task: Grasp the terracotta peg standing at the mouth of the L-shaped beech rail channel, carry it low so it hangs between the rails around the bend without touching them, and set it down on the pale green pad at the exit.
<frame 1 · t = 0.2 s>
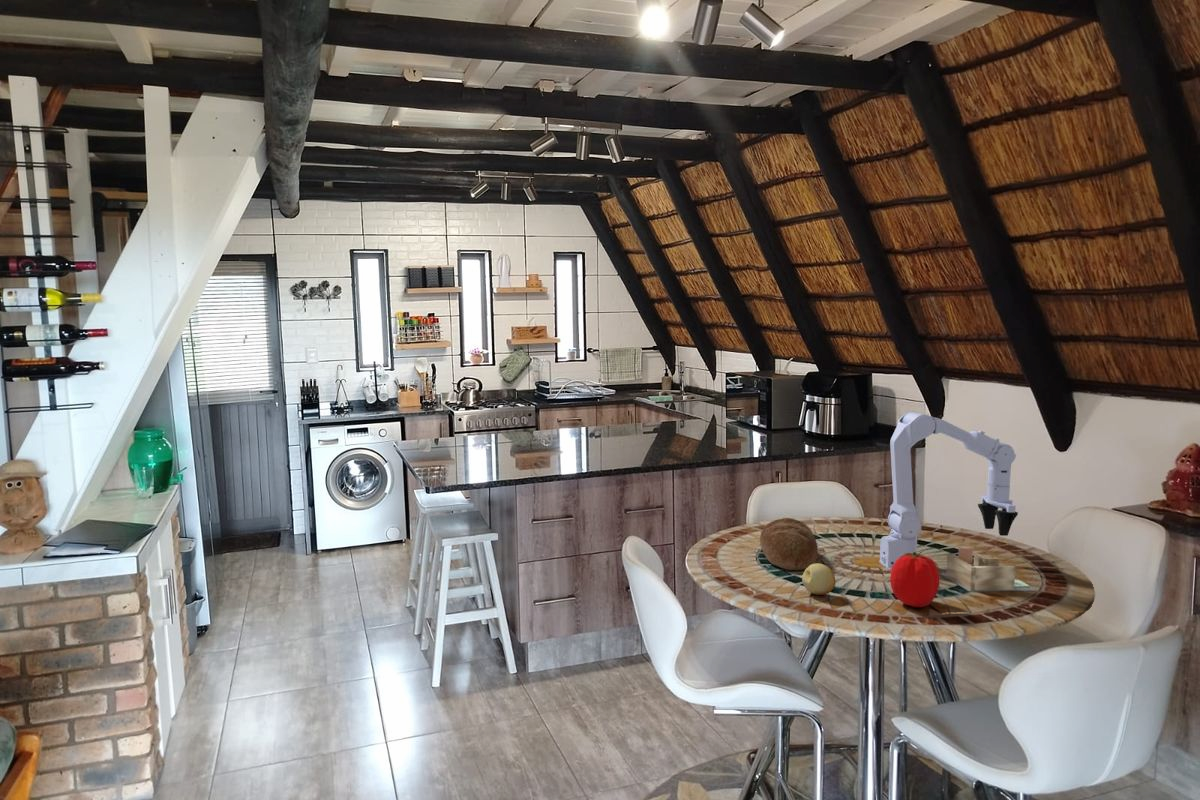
hand: (996, 532, 234), 10 cm above the table, fingers open, 7 cm apart
rails: (986, 581, 219), resting on board
bread: (787, 558, 244), on the table
pad: (1014, 584, 217), resting on board
fruit: (818, 595, 210), on the table
tomato: (914, 605, 202), on the table
peg: (964, 576, 223), resting on board
board: (986, 583, 219), on the table
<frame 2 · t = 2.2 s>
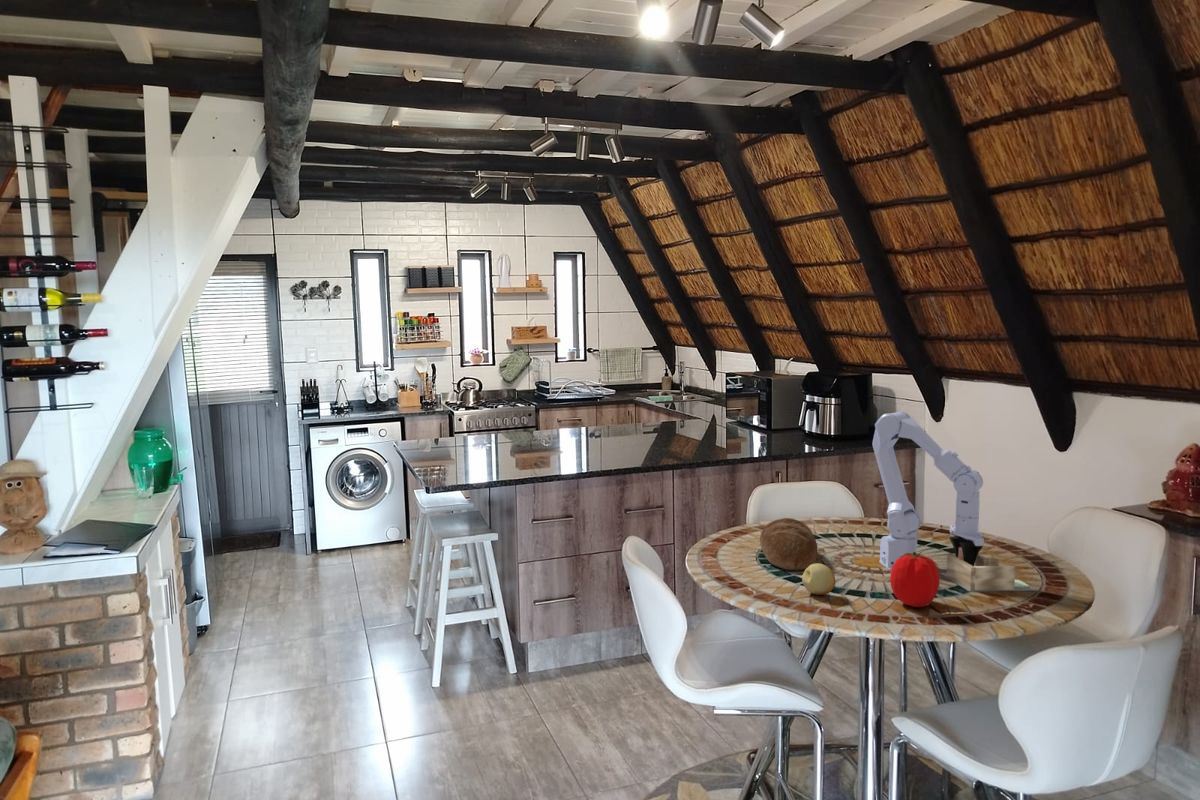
hand: (965, 565, 223), 4 cm above the table, fingers closed on peg, 3 cm apart
peg: (964, 576, 223), point 1 cm above the table, touching board, gripper
everything else where it was.
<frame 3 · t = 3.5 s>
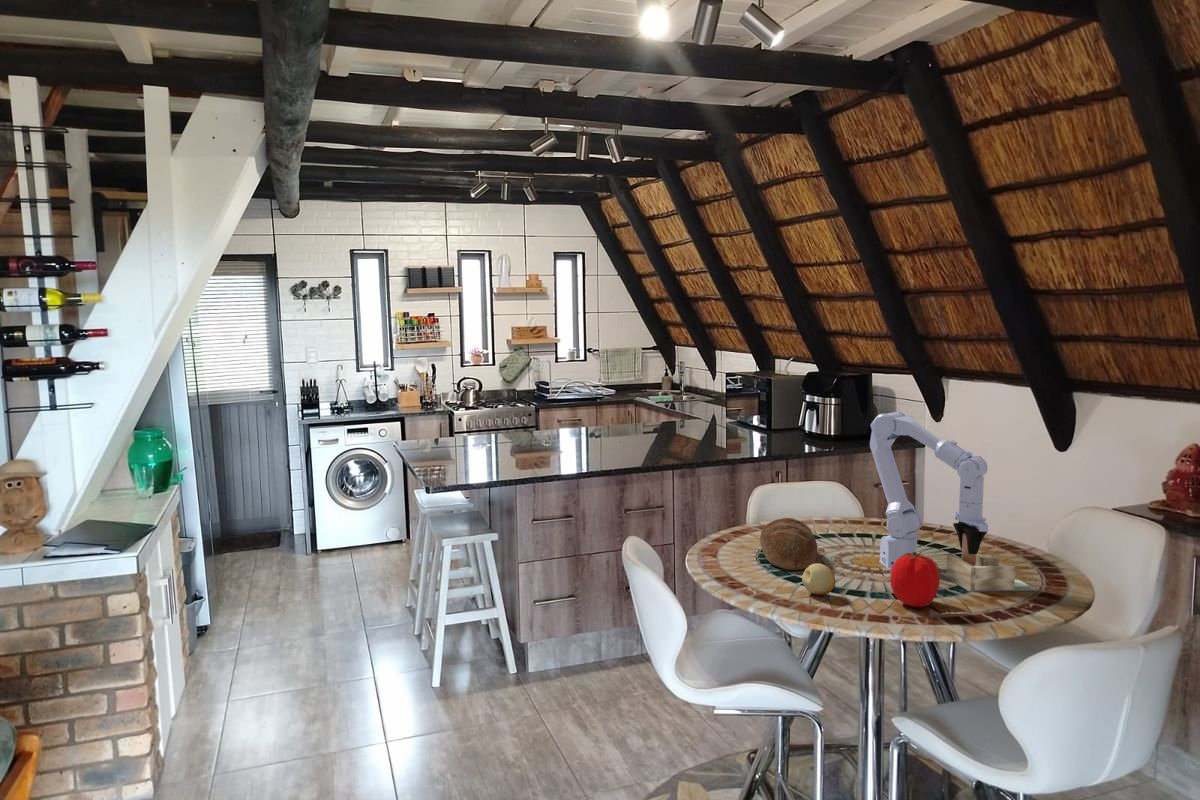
hand: (969, 551, 221), 8 cm above the table, fingers closed on peg, 3 cm apart
peg: (968, 563, 221), point 5 cm above the table, touching gripper
everything else where it was.
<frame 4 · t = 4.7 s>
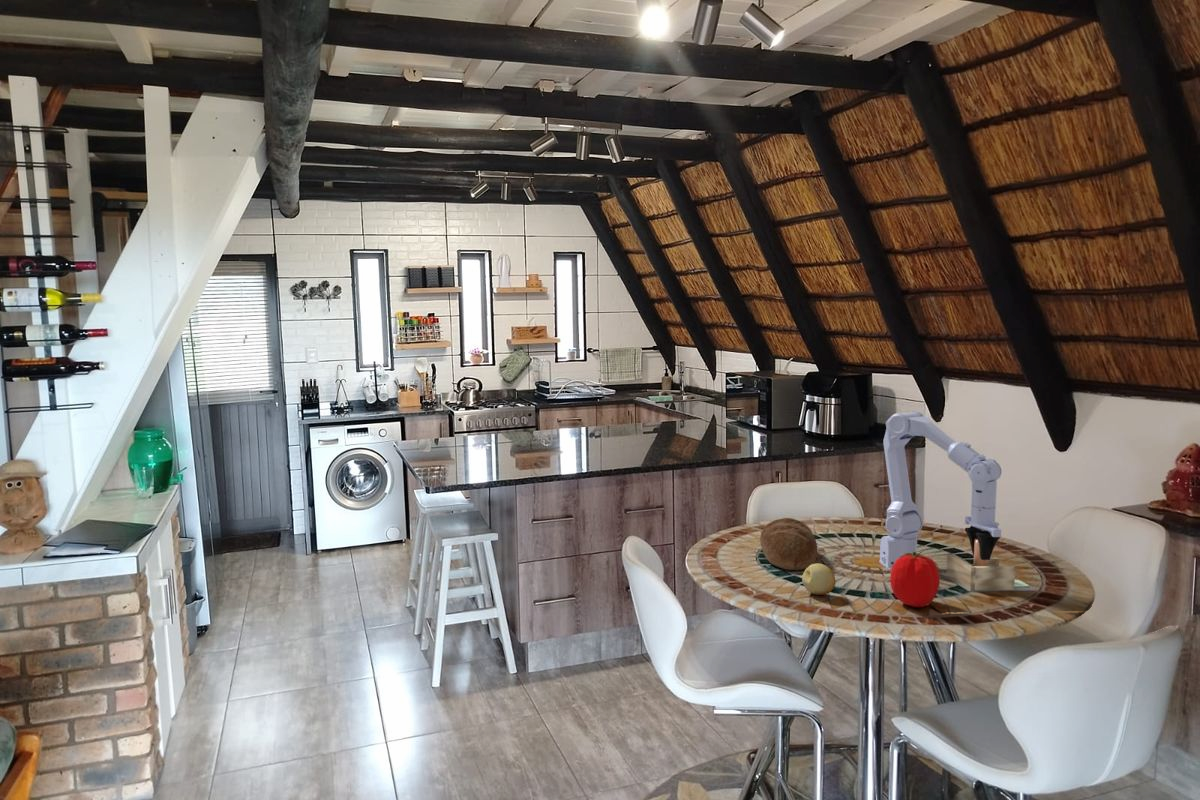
hand: (981, 557, 216), 8 cm above the table, fingers closed on peg, 3 cm apart
peg: (980, 569, 216), point 5 cm above the table, touching gripper
everything else where it was.
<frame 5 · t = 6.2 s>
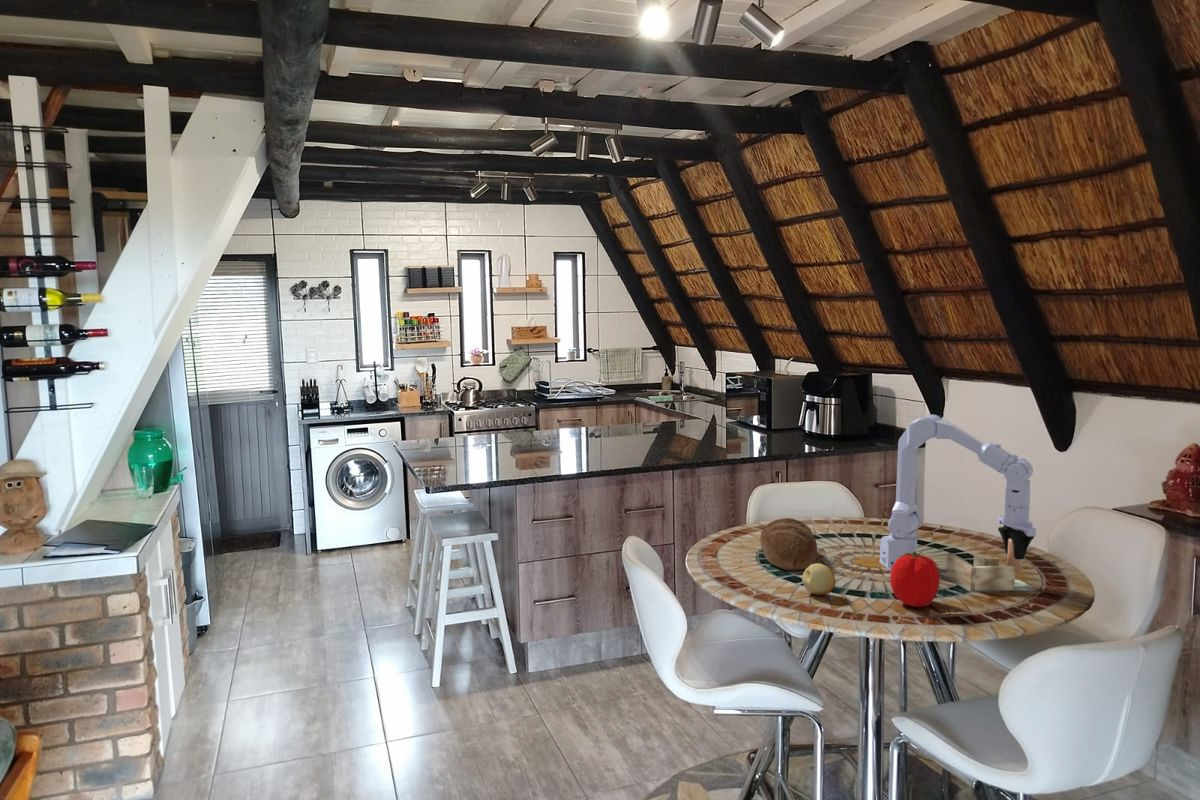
hand: (1014, 556, 216), 8 cm above the table, fingers closed on peg, 3 cm apart
peg: (1014, 568, 216), point 5 cm above the table, touching gripper
everything else where it was.
when the fingers open (5 cm above the table, at t = 7.3 s): peg stays where it is, resting on pad.
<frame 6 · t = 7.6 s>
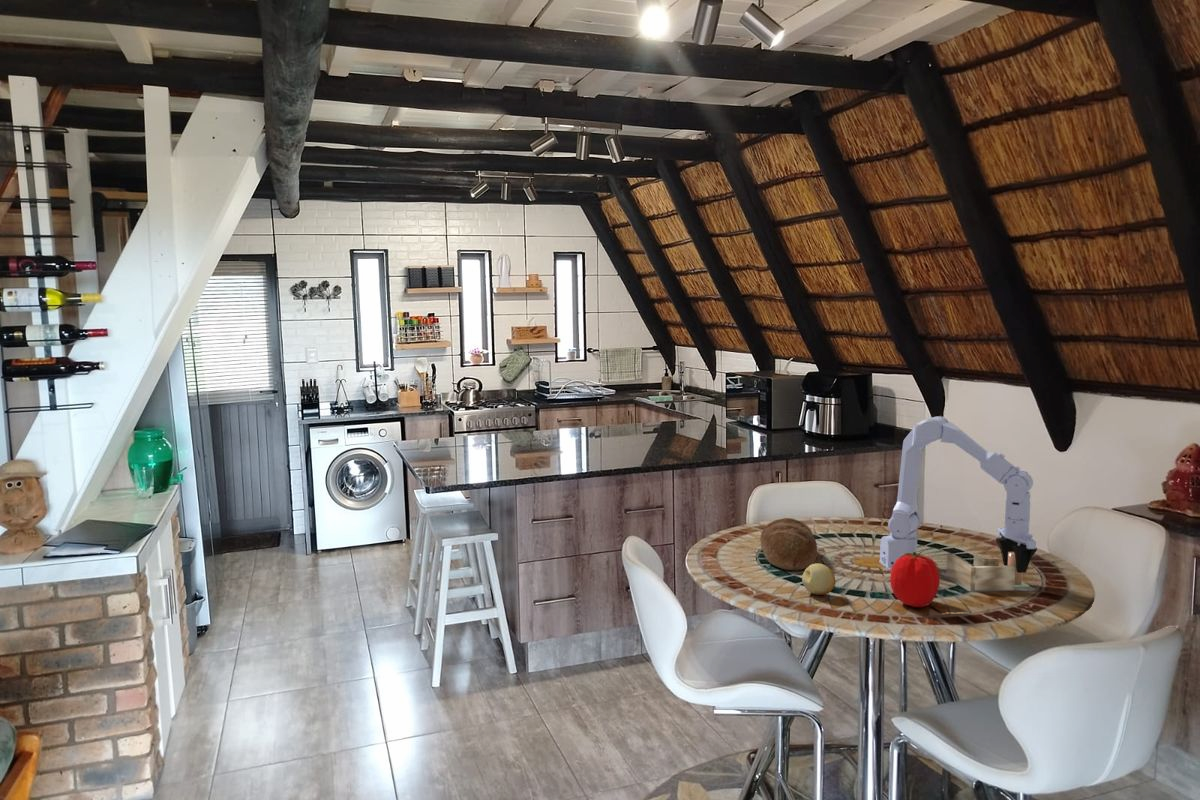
hand: (1014, 568, 216), 5 cm above the table, fingers open, 6 cm apart
peg: (1014, 582, 217), point 1 cm above the table, touching pad
everything else where it was.
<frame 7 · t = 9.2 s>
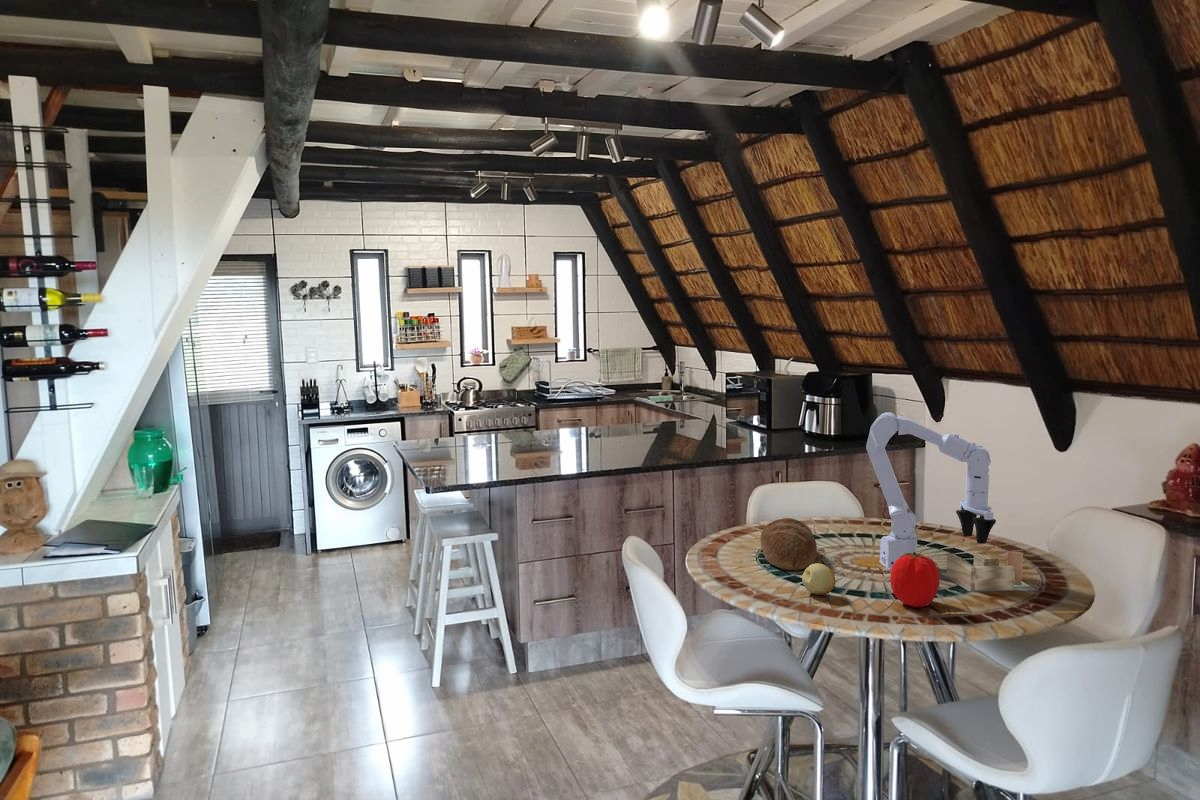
hand: (974, 539, 226), 10 cm above the table, fingers open, 7 cm apart
nothing on the table moved.
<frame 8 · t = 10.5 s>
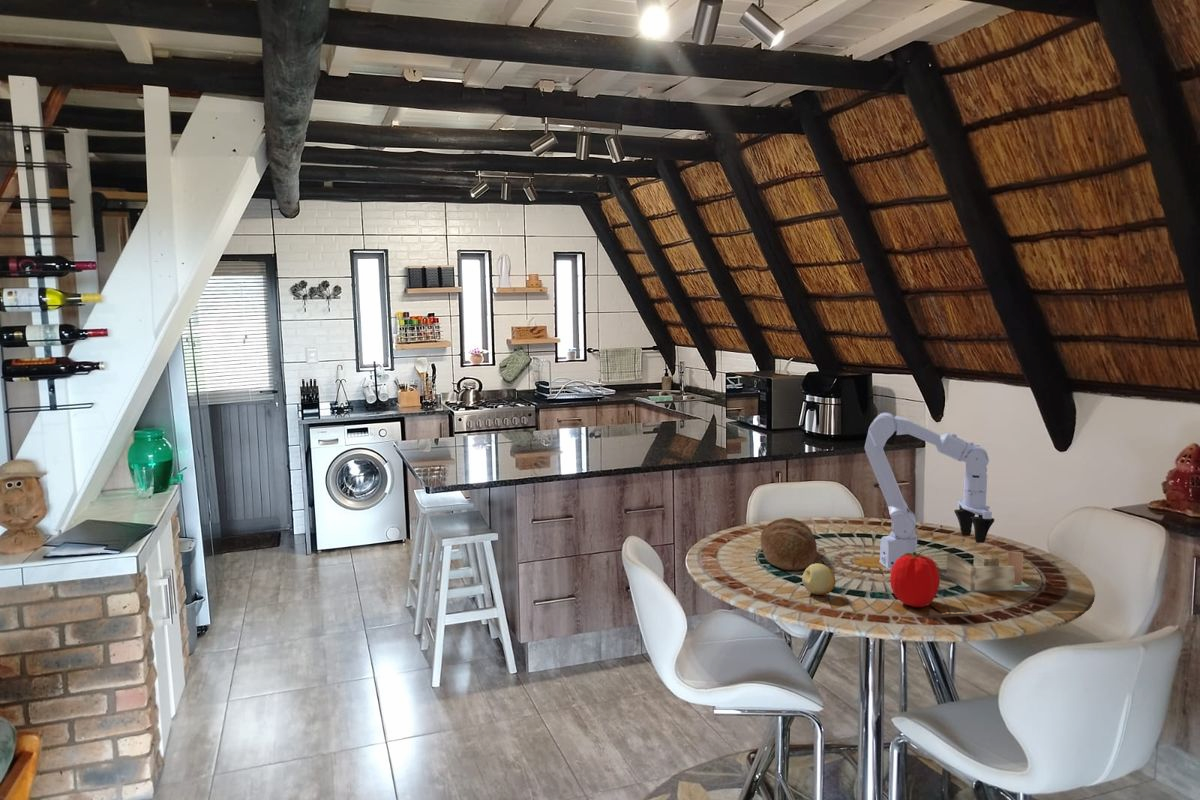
hand: (972, 538, 227), 10 cm above the table, fingers open, 7 cm apart
nothing on the table moved.
at the end: peg 0.2 cm from the pad (horizontally); peg point 0.9 cm above the table; peg tilted 2° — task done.
